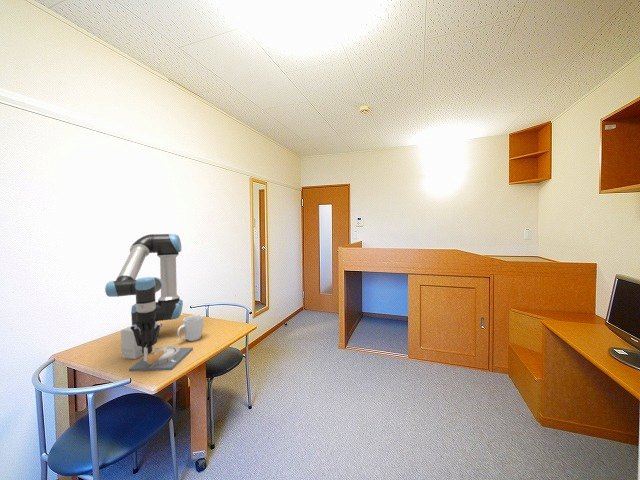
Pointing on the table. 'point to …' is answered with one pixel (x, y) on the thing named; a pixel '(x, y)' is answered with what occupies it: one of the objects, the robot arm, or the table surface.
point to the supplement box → (130, 344)
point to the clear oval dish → (159, 354)
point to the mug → (192, 327)
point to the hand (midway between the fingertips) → (147, 359)
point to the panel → (161, 366)
